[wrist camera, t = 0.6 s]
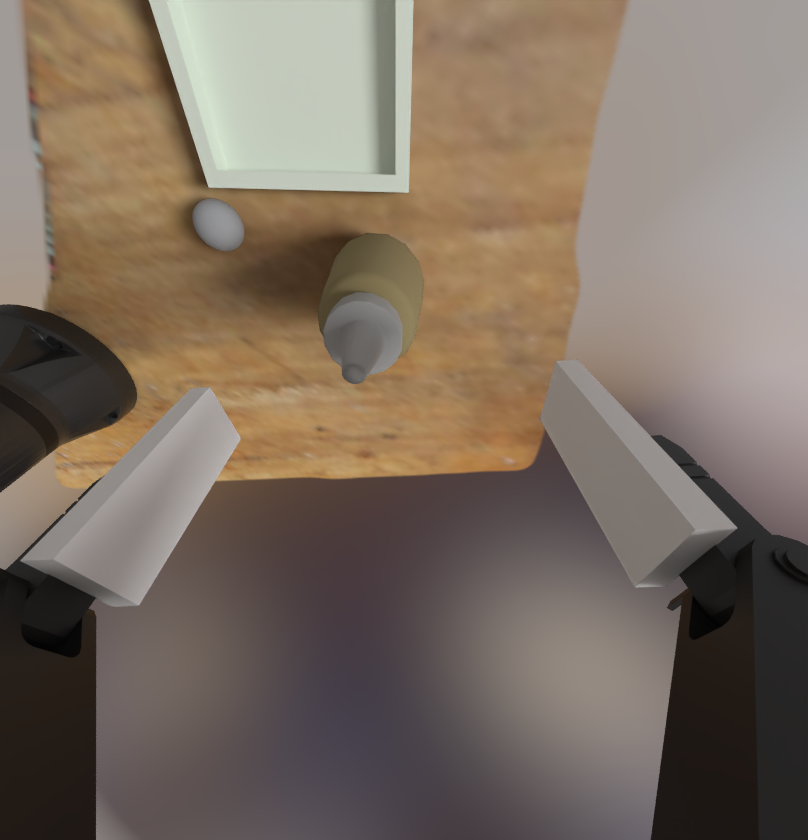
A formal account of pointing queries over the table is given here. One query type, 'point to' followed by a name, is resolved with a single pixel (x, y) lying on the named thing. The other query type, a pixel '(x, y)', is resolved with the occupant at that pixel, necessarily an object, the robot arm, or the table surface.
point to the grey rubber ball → (218, 224)
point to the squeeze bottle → (371, 305)
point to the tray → (294, 90)
